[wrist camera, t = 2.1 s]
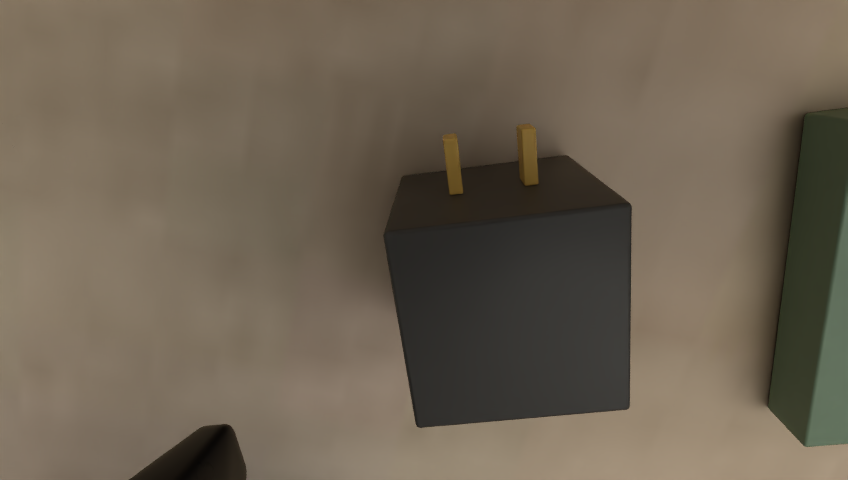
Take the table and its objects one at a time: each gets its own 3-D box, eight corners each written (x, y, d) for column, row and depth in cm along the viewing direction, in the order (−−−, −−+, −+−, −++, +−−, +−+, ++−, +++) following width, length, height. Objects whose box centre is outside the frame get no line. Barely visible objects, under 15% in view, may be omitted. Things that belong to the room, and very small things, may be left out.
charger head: (422, 320, 15) (416, 429, 10) (393, 130, 13) (370, 166, 8) (573, 304, 14) (630, 410, 10) (566, 107, 12) (634, 132, 8)
